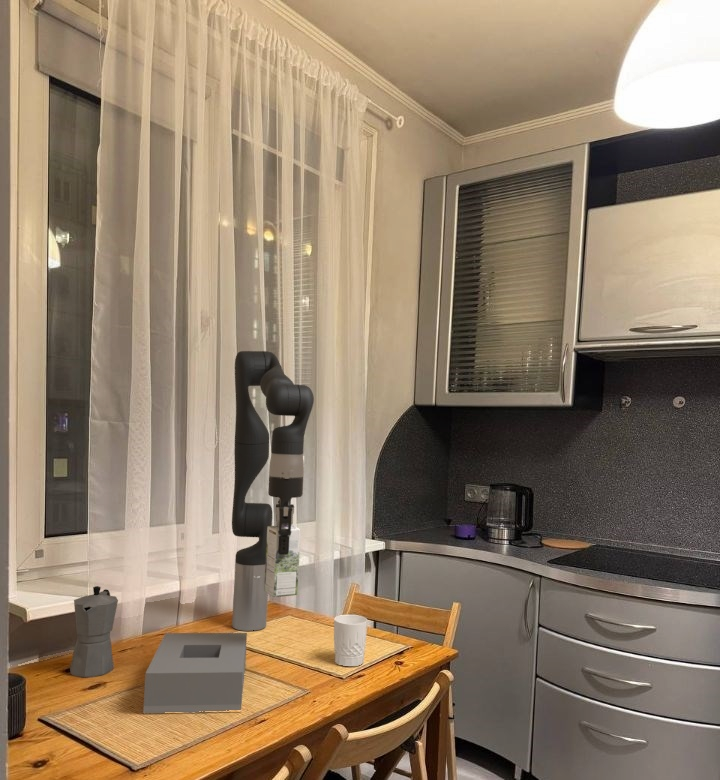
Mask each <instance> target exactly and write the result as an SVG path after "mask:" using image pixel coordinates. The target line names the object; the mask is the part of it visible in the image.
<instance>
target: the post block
mask: <svg viewBox="0 0 720 780" xmlns="http://www.w3.org/2000/svg"><path fill="white" fill-rule="evenodd" d="M247 635H248V633H247V632H165V633H164V635H163V637H162V640H161V641H160V643H159V645H158V647H157V649H156V651H155V654H154V655H153V657H152V659H151V661H150V664H149V666H148V667H147V669H146V671H145V673H144V674H145V676H144V694H143V711H142V714H143V713H165V712H199V711H201V712H202V711H203V712H205V711H226V710H227V711H229V710H241V711H242V705H241V704H243V695H242V694H244V685H243V684H245V675H244V674H245V673H246V663H247V662H246V659H247V657H246V656H247V641H248V639H247V638H248V636H247Z"/></svg>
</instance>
